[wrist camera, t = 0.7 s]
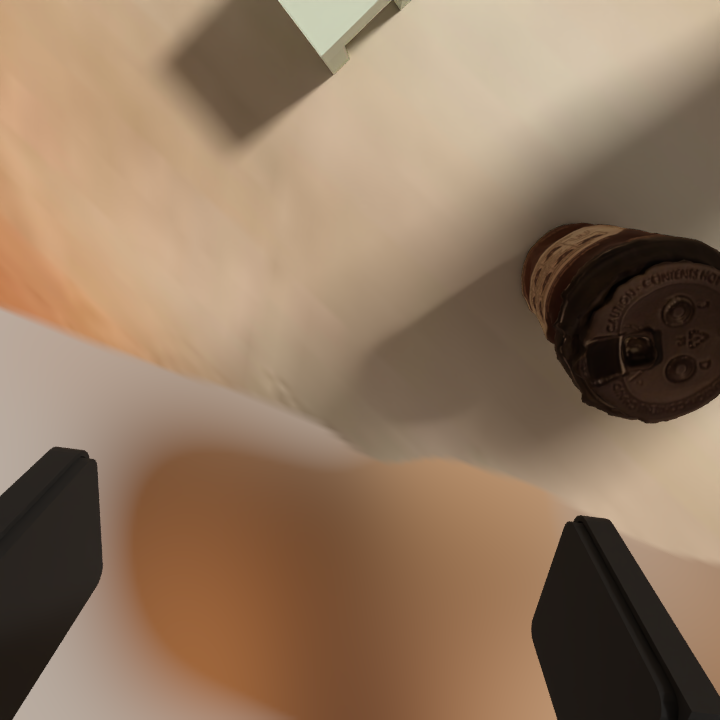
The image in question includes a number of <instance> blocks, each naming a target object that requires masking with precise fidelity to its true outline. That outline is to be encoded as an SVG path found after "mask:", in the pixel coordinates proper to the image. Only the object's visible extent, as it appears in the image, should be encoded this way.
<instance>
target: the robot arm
mask: <svg viewBox="0 0 720 720" xmlns="http://www.w3.org/2000/svg"><path fill="white" fill-rule="evenodd" d="M102 568H103V563H102V544H101V526H100V508H99V490H98V472H97V463H96V461H95V460H94V459H89V455H88V453H87V452H86V451H85V450H77V449H70V448H62V447H53V448H52V449H50V450H49V451H48V452H47V453H46V454H45V455H44V456H43V457H42V458H41V459H40V460H38V461H37V462H36V463H35V464H34V465H33V466H32V467H31V468H30V469H29V470H28V471H27V472H26V473H24V474H23V475H22V476H21V477H20V478H19V479H18V480H17V481H16V482H15V483H14V484H13V485H12V486H11V487H10V488H8V489H7V490H6V491H5V492H4V493H3V494H2V495H1V496H0V720H12V719H13V717H14V716H15V714H16V713H17V711H18V709H19V708H20V706H21V705H22V703H23V701H24V700H25V699H26V697H27V695H28V694H29V692H30V690H31V689H32V687H33V686H34V684H35V683H36V681H37V680H38V678H39V676H40V675H41V673H42V672H43V670H44V668H45V667H46V665H47V664H48V662H49V660H50V659H51V657H52V656H53V654H54V653H55V651H56V650H57V648H58V646H59V645H60V643H61V642H62V640H63V639H64V637H65V635H66V634H67V632H68V631H69V629H70V627H71V626H72V624H73V623H74V621H75V619H76V618H77V616H78V615H79V613H80V612H81V610H82V608H83V607H84V605H85V604H86V602H87V601H88V599H89V597H90V596H91V594H92V593H93V591H94V590H95V588H96V586H97V584H98V583H99V580H100V577H101V574H102ZM531 630H532V631H531V632H532V639H533V643H534V646H535V649H536V653H537V656H538V659H539V662H540V665H541V668H542V672H543V675H544V678H545V681H546V684H547V688H548V691H549V694H550V697H551V700H552V704H553V707H554V710H555V713H556V716H557V720H720V696H719V695H718V693H717V691H716V690H715V688H714V686H713V685H712V683H711V682H710V680H709V678H708V677H707V675H706V674H705V672H704V670H703V669H702V667H701V665H700V664H699V662H698V661H697V659H696V657H695V656H694V654H693V653H692V651H691V649H690V648H689V646H688V645H687V643H686V641H685V640H684V638H683V637H682V635H681V633H680V632H679V630H678V628H677V627H676V625H675V624H674V622H673V620H672V619H671V617H670V616H669V614H668V612H667V611H666V609H665V607H664V606H663V604H662V603H661V601H660V599H659V598H658V596H657V595H656V593H655V591H654V590H653V588H652V586H651V585H650V583H649V582H648V580H647V579H646V577H645V575H644V574H643V572H642V570H641V569H640V567H639V565H638V564H637V562H636V561H635V559H634V557H633V556H632V554H631V553H630V551H629V549H628V548H627V546H626V544H625V543H624V541H623V540H622V538H621V536H620V535H619V533H618V532H617V530H616V528H615V527H614V525H613V524H612V522H611V521H610V520H608V519H604V518H597V517H589V516H581V515H580V516H577V517H576V518H575V519H574V521H573V522H570V521H569V522H567V523H566V524H565V527H564V529H563V532H562V535H561V538H560V541H559V544H558V547H557V550H556V552H555V556H554V558H553V561H552V564H551V567H550V570H549V573H548V576H547V579H546V582H545V585H544V588H543V590H542V593H541V596H540V599H539V602H538V605H537V608H536V611H535V614H534V617H533V620H532V628H531Z"/></svg>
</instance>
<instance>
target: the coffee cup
mask: <svg viewBox="0 0 720 720" xmlns="http://www.w3.org/2000/svg"><path fill="white" fill-rule="evenodd" d="M521 278H522V294H523V296H524V298H525V299H526V301H527V304H528V306H529V310H530V311H531V312H533V313H535V314H536V316H537V318H538V320H539V322H540V324H541V327H542V329H543V331H544V335H545V336H546V338H547V340H548V341H550V342H551V343H553V344H555V351H556V354H557V359H558V360H559V361H560V363H561V364H562V366H563V368H564V369H565V371H566V372H567V374H568V375H569V377H570V378H571V380H572V382H573V383H574V385H575V386H576V387H577V388H578V389H579V390H580V392H581V393H582V402H584V403H586V404H587V405H589V406H593V407H596V408H597V409H600V410H602V411H604V412H607V413H608V415H611V416H616V417H621V418H625V419H629V420H637V419H638V420H640V421H643V422H645V423H658V422H661V421H669V420H672V419H675V418H678V417H680V416H683V415H685V414H688V413H690V412H693V411H695V410H697V409H699V408H701V407H703V406H704V405H706V404H708V403H709V402H710V401H712V400H713V399H715V398H716V397H717V396H718V395H719V394H720V252H719V251H717V250H716V249H714V248H712V247H710V246H709V245H707V244H705V243H703V242H700V241H698V240H695V239H689V238H682V237H674V236H668V235H661V234H658V233H649V232H645V231H641V230H636V229H627V228H621V227H617V226H612V225H603V224H597V225H593V224H588V223H576V224H568V225H562V226H559V227H557V228H555V229H553V230H551V231H549V232H548V233H546V234H545V235H544V236H543V237H542V238H541V239H540V240H539V241H538V242H537V243H536V244H535V245H534V246H533V247H532V248H531V249H530V251H529V253H528V255H527V257H526V260H525V262H524V265H523V270H522V275H521Z"/></svg>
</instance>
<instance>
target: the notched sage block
mask: <svg viewBox="0 0 720 720" xmlns="http://www.w3.org/2000/svg"><path fill="white" fill-rule="evenodd" d="M278 1H279V3H280V4H281V5H282V7H283V8H284V9H285V11H286V12H287V13H288V15H289V16H290V17H291V19H292V20H293V21H294V23H295V24H296V25H297V26H298V28H299V29H300V30H301V32H302V33H303V34H304V36H305V37H306V38H307V40H308V41H309V42H310V44H311V45H312V46H313V48H314V49H315V51H316V52H317V53H318V55H319V56H320V58H321V59H322V60H323V62H324V63H325V64H326V65H327V67H328V68H329V69H330V71H331V72H332V73H333V75H334V74H335V73H336V72H337V71H338V70H339V69H340V68H341V67H342V66H343V65H344V64H345V63H346V62H347V61H348V60H349V56H348V53H347V50H346V48H345V45H346V44H347V43H348V42H349V41H350V40H352V39H353V38H354V37H355V36H356V35H357V34H358V33H359V32H360V31H361V30H362V29H363V28H364V27H365V26H366V25H367V24H368V23H369V22H370V21H371V20H372V19H373V18H374V17H375V16H376V15H377V14H378V13H379V12H380V11H381V10H382V9H383V8H384V7H385V6H386V5H388V4H389V3H390V2H391V1H392V0H278ZM410 1H411V0H394V2H395V3H396V5H397V6H398V8H399V9H400V10H401V9H402V8H404V7H405V6H406V5H407V4H408V3H409V2H410Z"/></svg>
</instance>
